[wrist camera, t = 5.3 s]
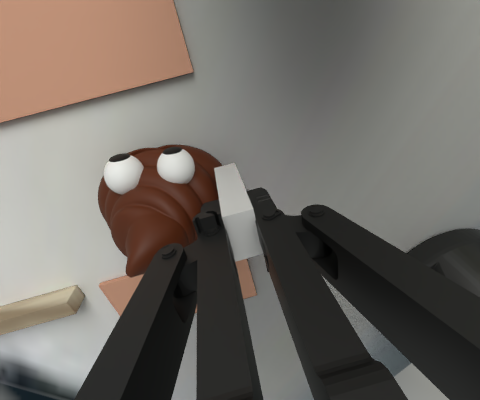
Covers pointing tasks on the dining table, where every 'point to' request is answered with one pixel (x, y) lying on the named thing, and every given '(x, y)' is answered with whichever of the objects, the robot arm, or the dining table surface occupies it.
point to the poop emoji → (155, 199)
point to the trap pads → (90, 67)
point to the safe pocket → (40, 309)
